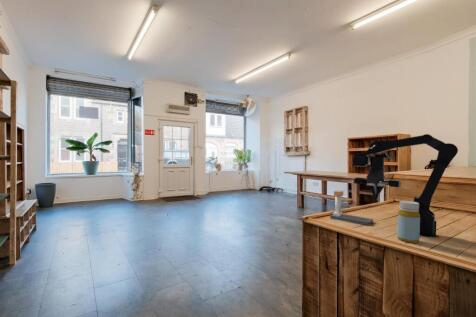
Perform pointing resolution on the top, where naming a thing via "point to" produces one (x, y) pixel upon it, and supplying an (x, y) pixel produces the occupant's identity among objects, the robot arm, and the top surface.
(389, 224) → the top surface
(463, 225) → the top surface
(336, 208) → the fader knob
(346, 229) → the top surface
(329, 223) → the top surface
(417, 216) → the bottle
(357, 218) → the console
